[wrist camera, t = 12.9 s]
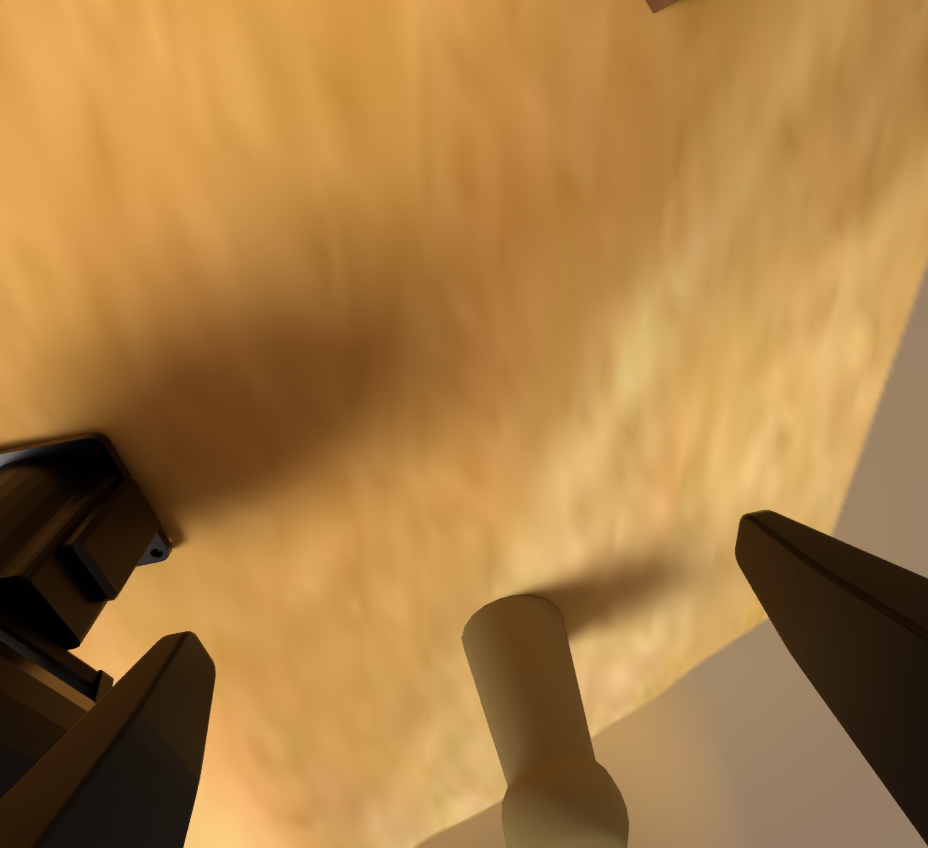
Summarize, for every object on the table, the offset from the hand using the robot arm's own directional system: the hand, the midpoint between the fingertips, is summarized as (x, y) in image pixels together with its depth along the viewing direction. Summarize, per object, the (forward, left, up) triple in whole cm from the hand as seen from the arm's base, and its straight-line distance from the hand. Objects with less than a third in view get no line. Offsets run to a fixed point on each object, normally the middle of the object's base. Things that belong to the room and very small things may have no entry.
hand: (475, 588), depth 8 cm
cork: (+2, -19, -13) cm, 23 cm away
